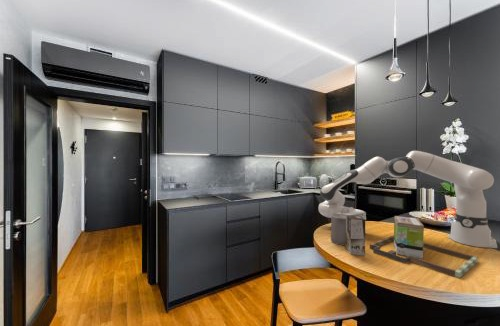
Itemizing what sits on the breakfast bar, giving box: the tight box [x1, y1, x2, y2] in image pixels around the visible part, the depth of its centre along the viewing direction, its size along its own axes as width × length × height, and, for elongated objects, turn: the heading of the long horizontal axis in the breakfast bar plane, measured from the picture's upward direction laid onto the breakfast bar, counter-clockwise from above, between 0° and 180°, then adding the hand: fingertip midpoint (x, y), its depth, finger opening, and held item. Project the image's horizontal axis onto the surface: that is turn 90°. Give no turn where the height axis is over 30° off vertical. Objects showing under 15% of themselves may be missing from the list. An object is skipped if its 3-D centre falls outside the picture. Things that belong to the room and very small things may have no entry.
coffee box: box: [345, 215, 366, 256], centre depth 103 cm, size 9×6×16 cm
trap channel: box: [369, 234, 479, 279], centre depth 98 cm, size 28×32×2 cm
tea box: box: [393, 215, 425, 259], centre depth 103 cm, size 15×10×15 cm, turn 151°
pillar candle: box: [330, 213, 346, 246], centre depth 115 cm, size 10×10×15 cm
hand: (364, 218), depth 121 cm, fingers closed
